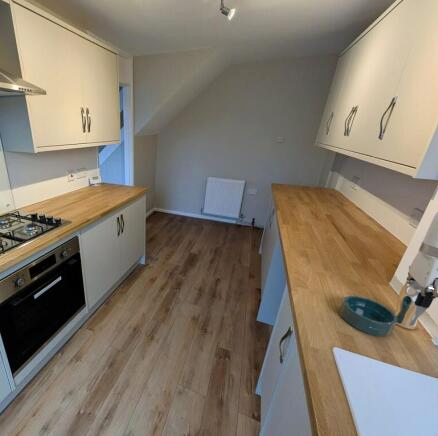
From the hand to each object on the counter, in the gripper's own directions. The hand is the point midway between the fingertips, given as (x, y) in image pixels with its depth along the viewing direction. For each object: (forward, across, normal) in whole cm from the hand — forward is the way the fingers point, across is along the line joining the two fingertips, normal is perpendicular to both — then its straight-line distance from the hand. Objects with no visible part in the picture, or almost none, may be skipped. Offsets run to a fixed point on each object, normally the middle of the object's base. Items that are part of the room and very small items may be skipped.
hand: (414, 298), depth 78 cm
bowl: (+10, -5, +12) cm, 17 cm away
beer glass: (+10, 0, 0) cm, 10 cm away
